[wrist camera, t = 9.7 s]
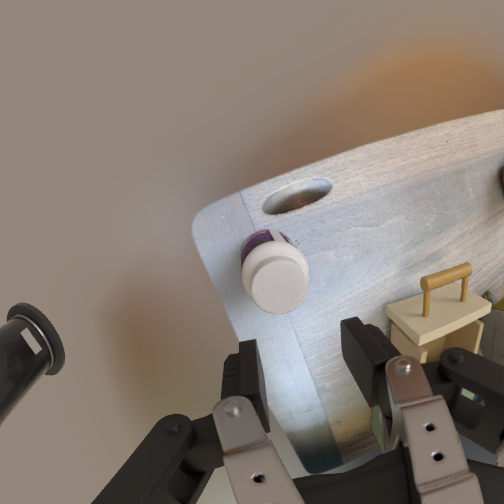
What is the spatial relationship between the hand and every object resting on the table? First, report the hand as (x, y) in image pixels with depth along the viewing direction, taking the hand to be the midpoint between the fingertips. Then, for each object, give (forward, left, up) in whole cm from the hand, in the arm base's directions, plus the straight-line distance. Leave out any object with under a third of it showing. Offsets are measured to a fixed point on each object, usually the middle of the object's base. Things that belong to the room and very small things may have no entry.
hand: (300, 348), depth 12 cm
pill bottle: (0, 0, -17) cm, 17 cm away
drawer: (+18, -13, -16) cm, 28 cm away
